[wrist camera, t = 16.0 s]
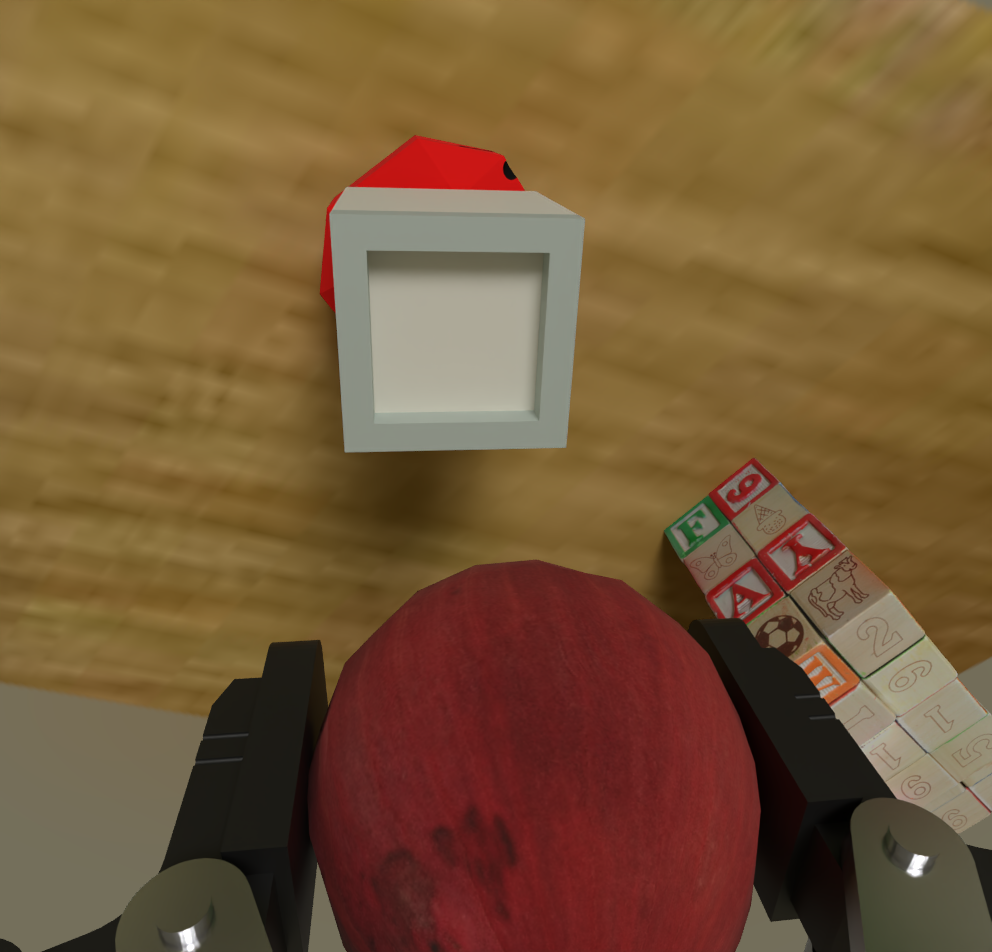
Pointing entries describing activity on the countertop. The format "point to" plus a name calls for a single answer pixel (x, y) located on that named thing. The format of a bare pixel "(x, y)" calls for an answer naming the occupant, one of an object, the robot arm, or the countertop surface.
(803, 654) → the stack of blocks
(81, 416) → the countertop surface
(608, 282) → the countertop surface
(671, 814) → the onion
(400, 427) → the socket block
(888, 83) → the countertop surface
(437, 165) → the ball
